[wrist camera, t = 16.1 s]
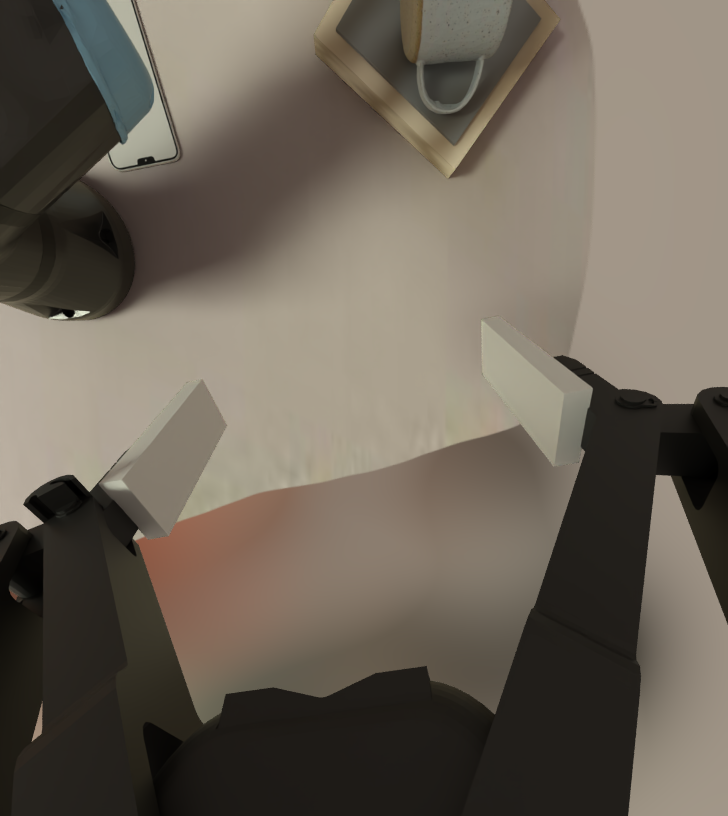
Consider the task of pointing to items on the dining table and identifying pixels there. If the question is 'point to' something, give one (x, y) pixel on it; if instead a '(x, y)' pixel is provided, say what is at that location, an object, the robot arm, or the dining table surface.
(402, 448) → the dining table surface
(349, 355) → the dining table surface
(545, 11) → the wooden picture frame
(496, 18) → the ceramic mug
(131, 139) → the smartphone
